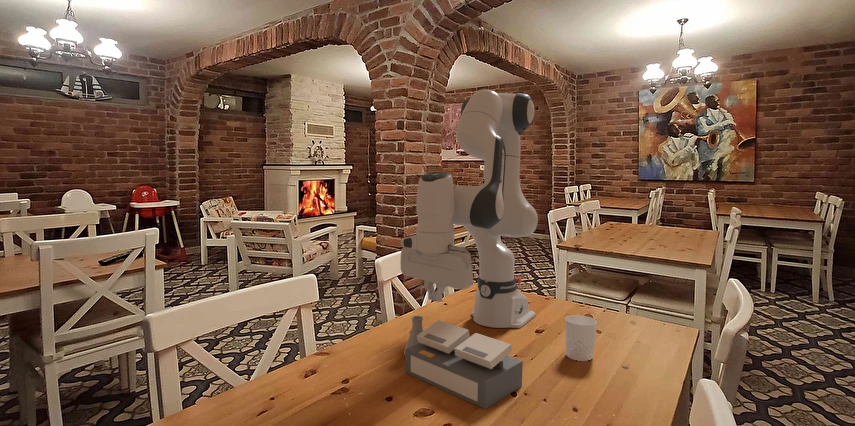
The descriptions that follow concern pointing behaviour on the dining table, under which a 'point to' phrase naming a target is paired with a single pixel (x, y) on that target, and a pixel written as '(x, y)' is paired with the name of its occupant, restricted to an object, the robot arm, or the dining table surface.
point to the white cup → (580, 337)
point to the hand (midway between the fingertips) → (435, 300)
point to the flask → (414, 332)
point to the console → (464, 375)
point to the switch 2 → (483, 350)
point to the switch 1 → (443, 336)
